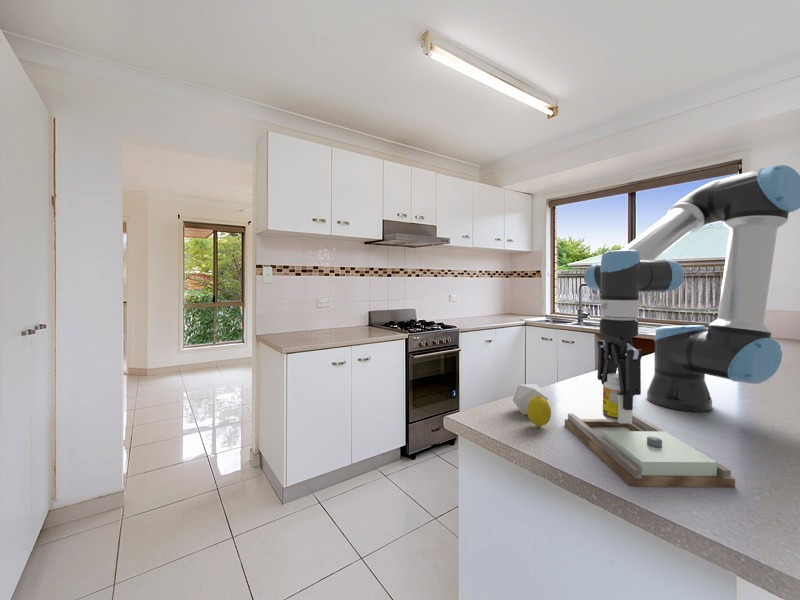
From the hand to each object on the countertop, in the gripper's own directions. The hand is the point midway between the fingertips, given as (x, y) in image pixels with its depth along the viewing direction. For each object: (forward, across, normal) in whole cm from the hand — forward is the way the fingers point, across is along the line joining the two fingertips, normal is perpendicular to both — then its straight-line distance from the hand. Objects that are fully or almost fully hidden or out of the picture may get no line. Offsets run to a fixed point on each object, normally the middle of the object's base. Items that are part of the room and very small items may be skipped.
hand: (616, 417), depth 82 cm
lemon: (+5, -6, -16) cm, 18 cm away
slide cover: (+3, +13, 0) cm, 13 cm away
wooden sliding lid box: (+5, +6, 0) cm, 8 cm away
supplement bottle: (+1, 0, 0) cm, 1 cm away
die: (+5, -16, -15) cm, 22 cm away
